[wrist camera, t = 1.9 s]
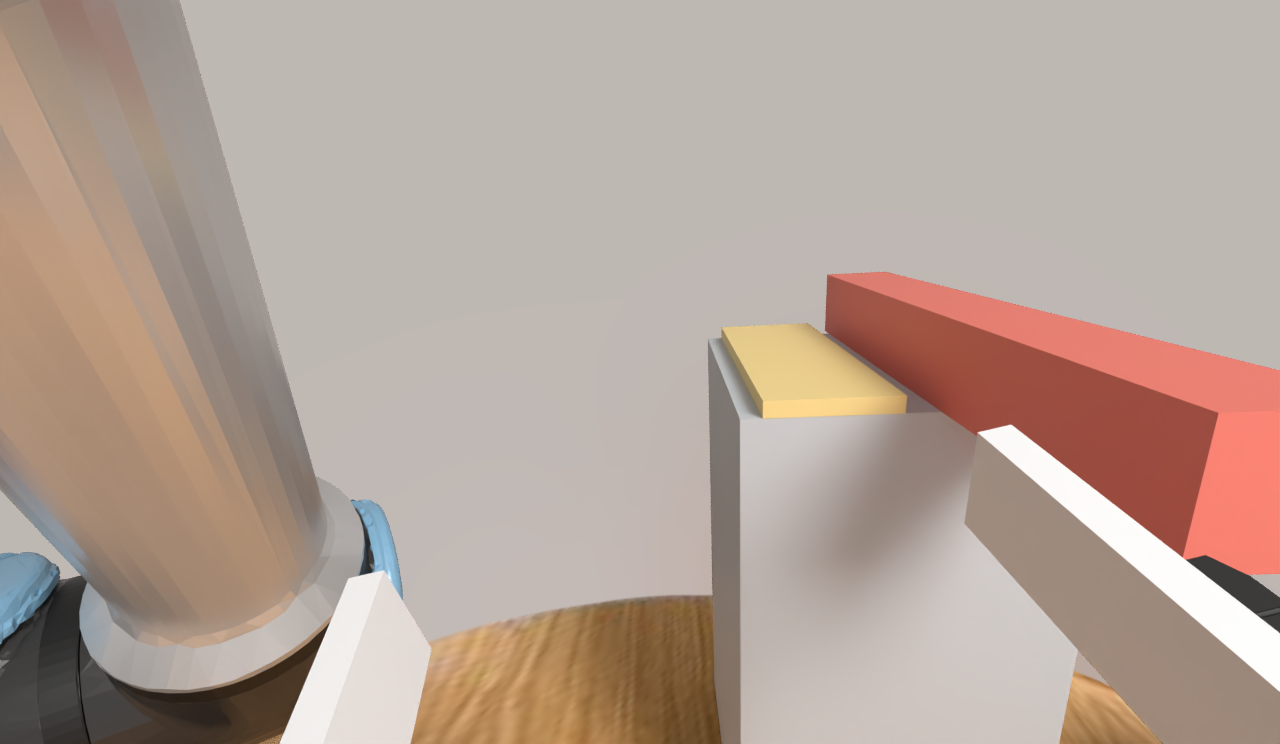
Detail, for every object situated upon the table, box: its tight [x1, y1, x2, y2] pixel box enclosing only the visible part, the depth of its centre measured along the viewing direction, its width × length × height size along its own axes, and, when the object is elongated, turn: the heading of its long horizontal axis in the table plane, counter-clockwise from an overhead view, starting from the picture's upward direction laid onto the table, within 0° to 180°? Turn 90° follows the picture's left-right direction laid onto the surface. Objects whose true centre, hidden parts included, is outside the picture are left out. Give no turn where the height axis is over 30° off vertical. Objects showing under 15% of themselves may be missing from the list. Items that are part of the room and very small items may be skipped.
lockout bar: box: [825, 272, 1280, 575], centre depth 26 cm, size 28×4×4 cm, turn 178°
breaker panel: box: [708, 334, 1078, 744], centre depth 36 cm, size 17×16×30 cm
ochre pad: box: [722, 323, 907, 419], centre depth 31 cm, size 16×6×1 cm, turn 178°
